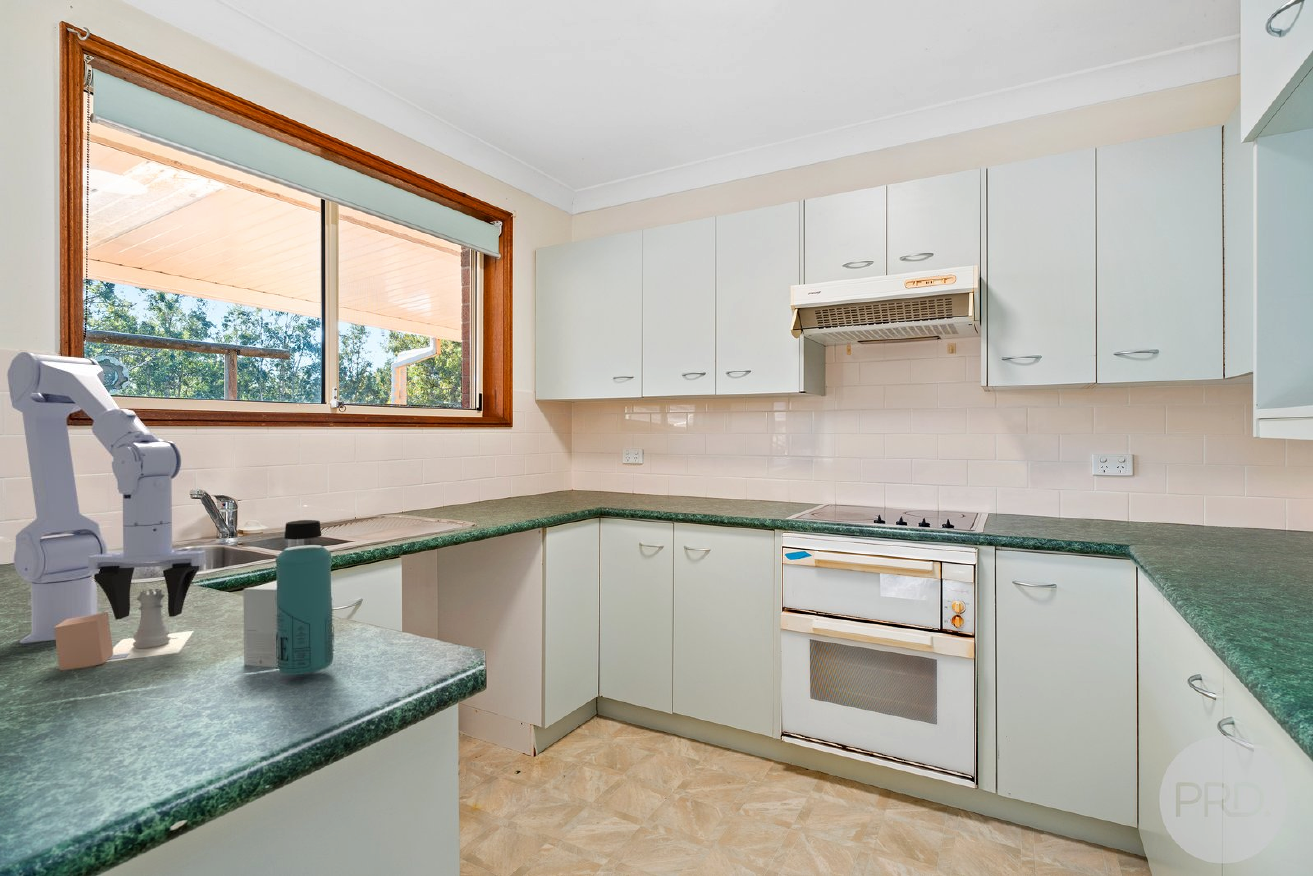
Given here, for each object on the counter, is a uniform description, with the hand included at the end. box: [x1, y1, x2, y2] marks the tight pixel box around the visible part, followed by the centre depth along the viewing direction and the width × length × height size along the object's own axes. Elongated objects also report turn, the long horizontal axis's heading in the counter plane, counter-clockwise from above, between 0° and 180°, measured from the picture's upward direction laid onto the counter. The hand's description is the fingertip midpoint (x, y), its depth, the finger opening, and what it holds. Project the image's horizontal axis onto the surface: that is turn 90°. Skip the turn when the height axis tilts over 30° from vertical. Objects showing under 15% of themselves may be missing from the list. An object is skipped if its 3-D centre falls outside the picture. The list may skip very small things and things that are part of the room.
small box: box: [242, 580, 278, 668], centre depth 91 cm, size 8×6×10 cm
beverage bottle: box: [275, 519, 335, 675], centre depth 84 cm, size 6×7×20 cm
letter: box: [104, 630, 195, 663], centre depth 97 cm, size 12×9×1 cm
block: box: [54, 611, 114, 671], centre depth 90 cm, size 4×4×6 cm
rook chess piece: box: [132, 587, 170, 649], centre depth 97 cm, size 4×4×8 cm
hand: (149, 616), depth 97 cm, fingers open, 6 cm apart
